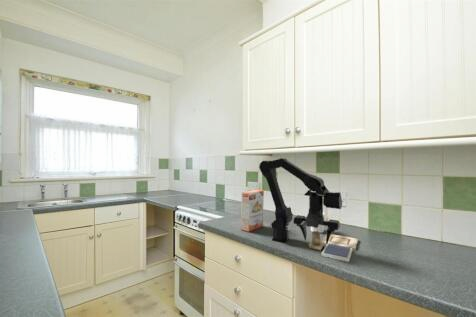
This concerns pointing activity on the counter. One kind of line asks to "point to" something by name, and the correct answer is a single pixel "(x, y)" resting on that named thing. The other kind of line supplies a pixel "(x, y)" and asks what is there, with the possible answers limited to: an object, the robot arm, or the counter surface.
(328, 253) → the ink pad
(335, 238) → the board
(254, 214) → the cracker box
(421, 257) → the counter surface
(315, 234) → the stamp
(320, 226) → the white cup
